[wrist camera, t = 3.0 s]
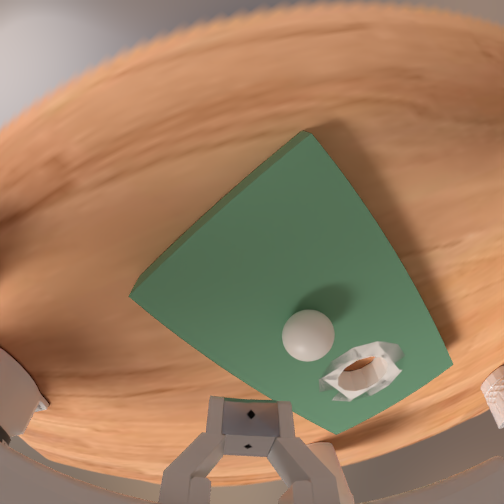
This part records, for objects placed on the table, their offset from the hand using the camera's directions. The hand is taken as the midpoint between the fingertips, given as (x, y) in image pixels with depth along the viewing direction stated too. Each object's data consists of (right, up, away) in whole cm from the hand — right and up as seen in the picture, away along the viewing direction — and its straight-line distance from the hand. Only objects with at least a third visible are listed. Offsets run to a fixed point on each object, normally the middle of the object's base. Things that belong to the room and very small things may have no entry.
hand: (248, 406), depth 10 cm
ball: (+4, -1, +11) cm, 12 cm away
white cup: (+45, -18, +27) cm, 56 cm away
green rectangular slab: (+8, -2, +18) cm, 19 cm away
